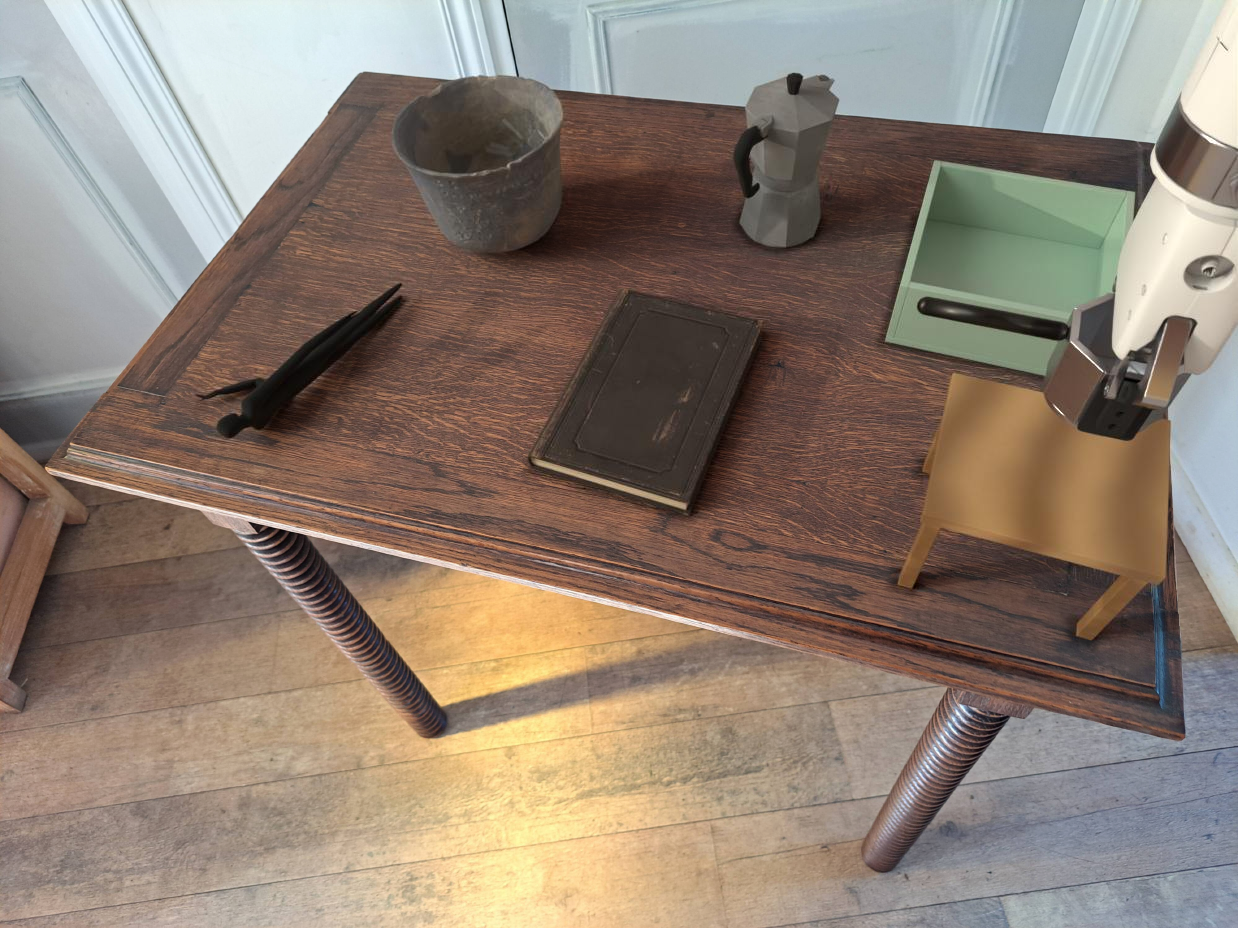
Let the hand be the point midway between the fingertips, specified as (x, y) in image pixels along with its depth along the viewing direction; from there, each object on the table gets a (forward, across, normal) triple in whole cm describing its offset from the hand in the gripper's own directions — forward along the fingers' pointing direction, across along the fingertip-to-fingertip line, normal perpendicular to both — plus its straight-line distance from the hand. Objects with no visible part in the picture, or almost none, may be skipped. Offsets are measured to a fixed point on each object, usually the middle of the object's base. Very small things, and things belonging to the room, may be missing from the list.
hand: (1107, 385), depth 55 cm
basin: (+21, +30, +5) cm, 37 cm away
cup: (+21, +24, +60) cm, 68 cm away
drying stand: (+22, 0, +1) cm, 22 cm away
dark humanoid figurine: (+21, 0, +72) cm, 75 cm away
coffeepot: (+21, +34, +30) cm, 50 cm away
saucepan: (+1, 0, +5) cm, 5 cm away
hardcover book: (+21, +6, +35) cm, 41 cm away
